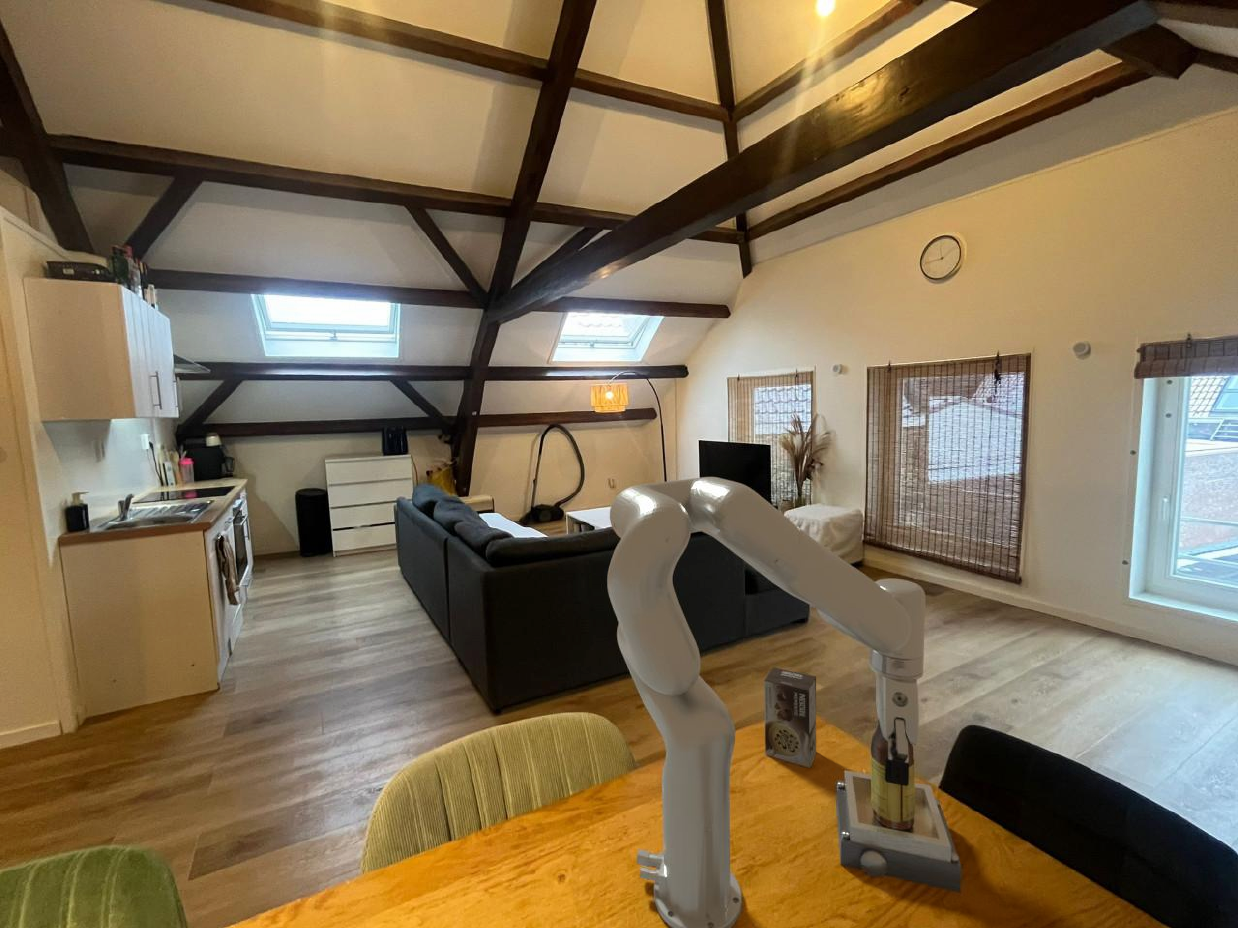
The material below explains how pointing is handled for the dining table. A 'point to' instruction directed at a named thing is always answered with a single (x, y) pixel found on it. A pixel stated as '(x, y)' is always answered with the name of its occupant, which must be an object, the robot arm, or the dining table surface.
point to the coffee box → (790, 716)
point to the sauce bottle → (891, 787)
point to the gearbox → (895, 837)
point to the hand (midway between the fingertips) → (892, 766)
